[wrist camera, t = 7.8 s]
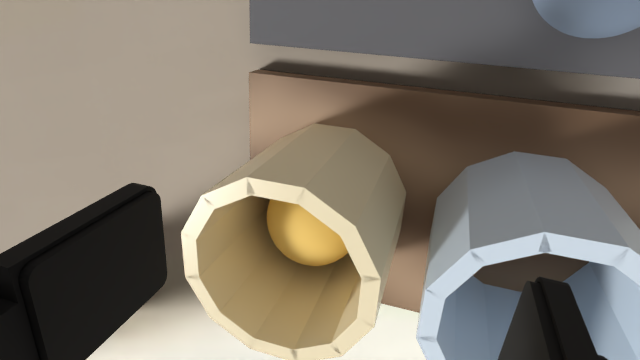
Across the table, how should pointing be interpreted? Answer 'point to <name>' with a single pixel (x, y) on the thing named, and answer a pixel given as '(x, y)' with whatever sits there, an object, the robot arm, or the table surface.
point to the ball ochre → (303, 235)
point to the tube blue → (522, 241)
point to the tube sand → (277, 269)
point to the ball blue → (590, 16)
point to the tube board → (452, 153)
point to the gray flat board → (443, 33)
